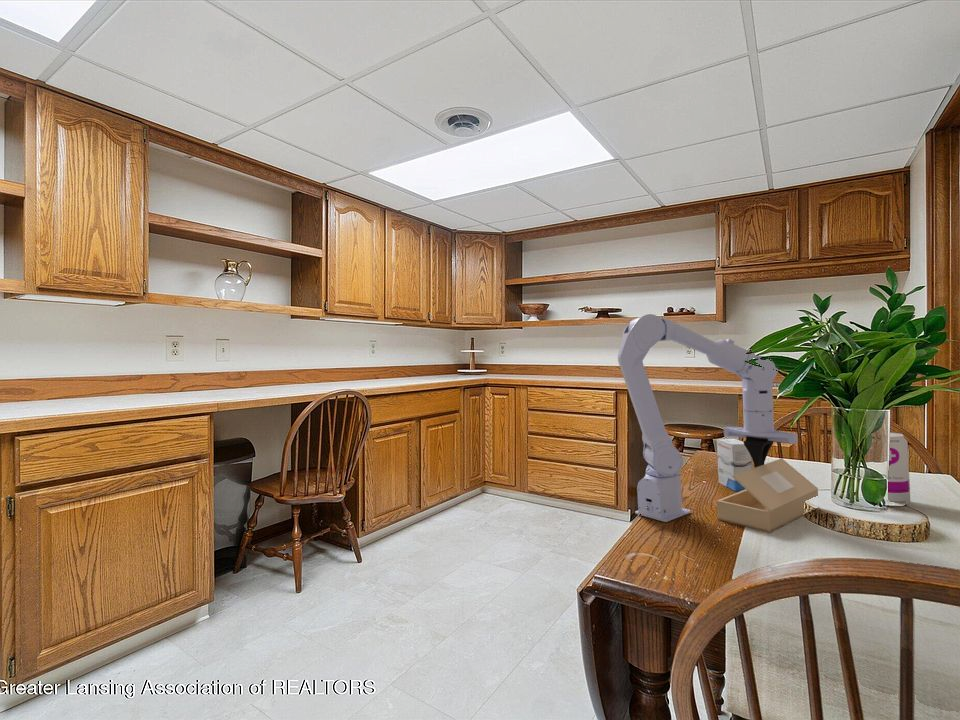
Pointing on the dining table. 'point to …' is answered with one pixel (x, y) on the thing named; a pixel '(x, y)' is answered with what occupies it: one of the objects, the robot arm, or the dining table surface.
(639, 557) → the dining table surface
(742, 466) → the ink box
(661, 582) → the dining table surface
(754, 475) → the flap
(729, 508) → the carton
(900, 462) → the white can
